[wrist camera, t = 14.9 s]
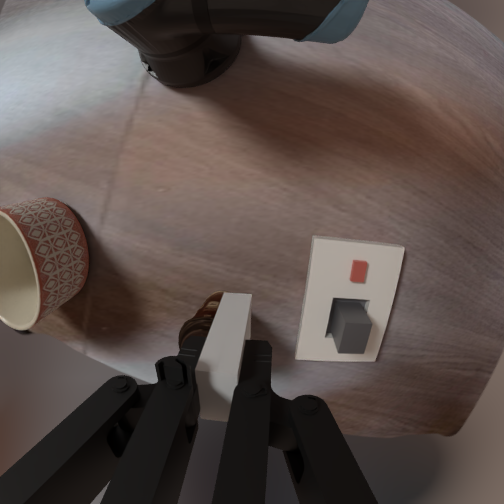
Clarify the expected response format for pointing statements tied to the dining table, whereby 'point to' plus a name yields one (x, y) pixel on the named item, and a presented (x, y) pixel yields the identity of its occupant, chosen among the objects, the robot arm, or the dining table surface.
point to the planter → (39, 260)
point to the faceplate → (346, 293)
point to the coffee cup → (201, 318)
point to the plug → (350, 328)
